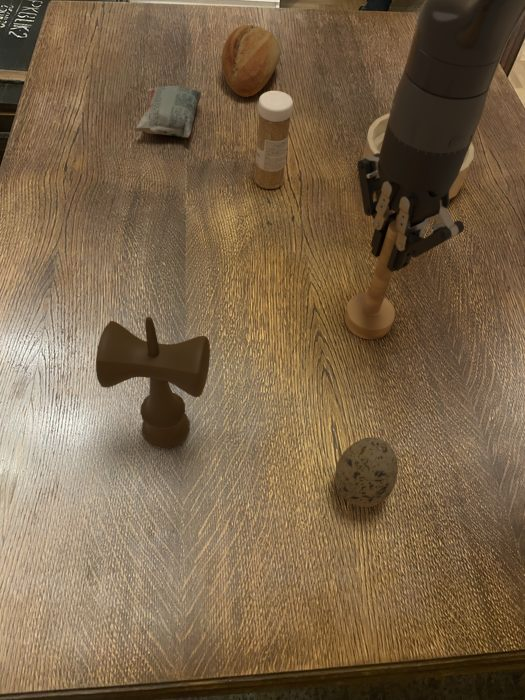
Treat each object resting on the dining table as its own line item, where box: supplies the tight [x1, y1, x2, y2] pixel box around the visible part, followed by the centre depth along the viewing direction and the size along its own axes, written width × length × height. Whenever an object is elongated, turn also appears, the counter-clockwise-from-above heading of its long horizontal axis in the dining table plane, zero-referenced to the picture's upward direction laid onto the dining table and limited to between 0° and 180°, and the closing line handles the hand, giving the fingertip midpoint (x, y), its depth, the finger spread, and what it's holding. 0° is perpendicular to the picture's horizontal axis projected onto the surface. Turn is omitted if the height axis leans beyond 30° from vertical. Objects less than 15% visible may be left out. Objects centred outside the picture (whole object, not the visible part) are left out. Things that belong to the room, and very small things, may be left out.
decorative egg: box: [334, 436, 399, 508], centre depth 59 cm, size 6×6×10 cm
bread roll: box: [220, 24, 282, 98], centre depth 103 cm, size 10×15×8 cm, turn 168°
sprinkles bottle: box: [253, 90, 294, 190], centre depth 85 cm, size 5×5×13 cm
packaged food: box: [133, 85, 202, 139], centre depth 95 cm, size 9×12×5 cm
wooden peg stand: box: [343, 220, 398, 340], centre depth 70 cm, size 6×6×16 cm
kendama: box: [95, 316, 211, 449], centre depth 58 cm, size 6×10×20 cm, turn 83°
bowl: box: [361, 112, 475, 200], centre depth 91 cm, size 16×16×6 cm
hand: (387, 259), depth 67 cm, fingers closed on wooden peg stand
